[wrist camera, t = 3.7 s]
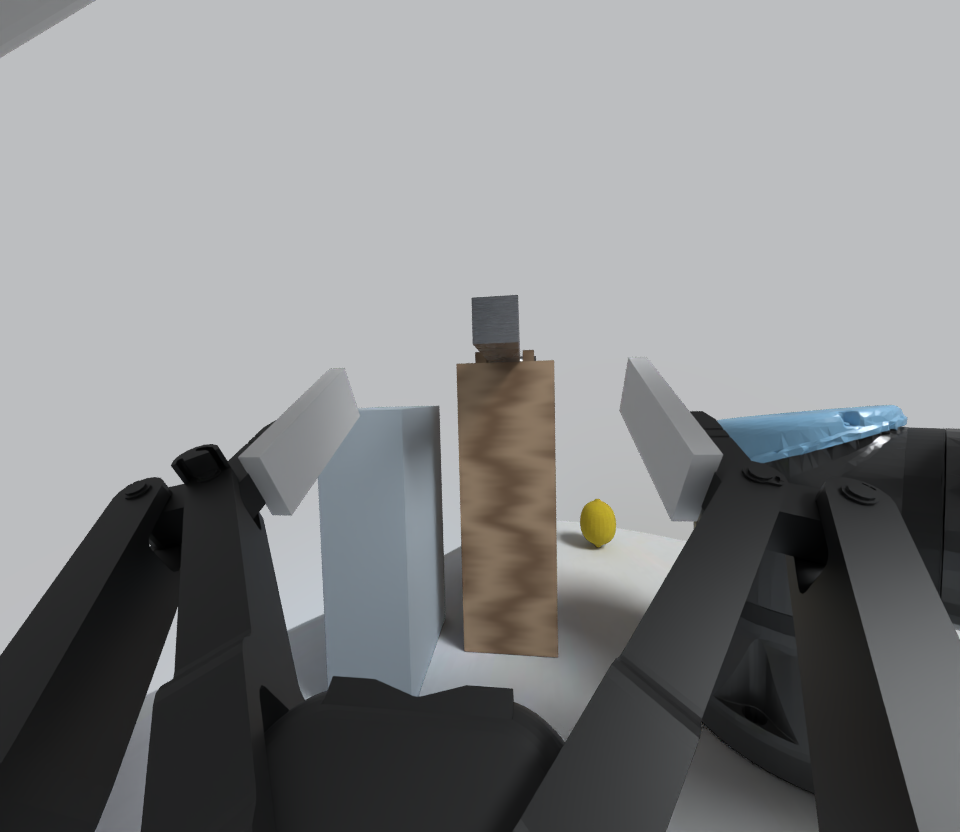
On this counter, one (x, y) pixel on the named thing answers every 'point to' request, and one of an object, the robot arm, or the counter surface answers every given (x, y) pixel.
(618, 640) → the counter surface
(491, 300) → the dark grey bar
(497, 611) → the walnut stand
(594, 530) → the lemon
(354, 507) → the block
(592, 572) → the counter surface
